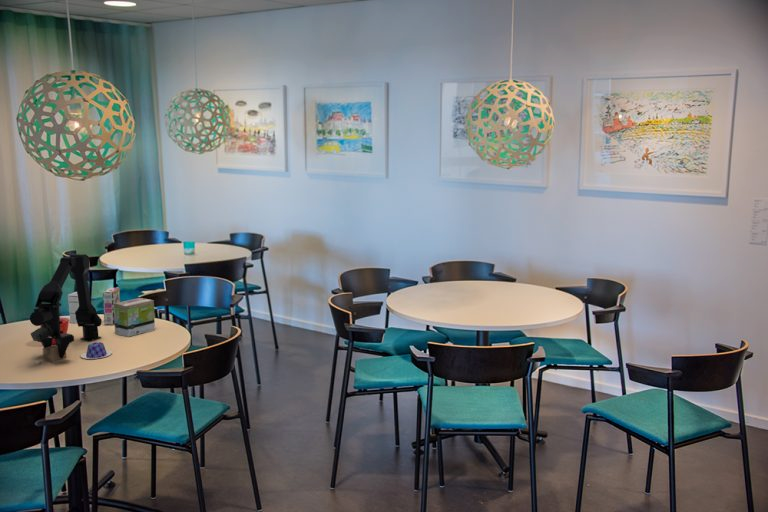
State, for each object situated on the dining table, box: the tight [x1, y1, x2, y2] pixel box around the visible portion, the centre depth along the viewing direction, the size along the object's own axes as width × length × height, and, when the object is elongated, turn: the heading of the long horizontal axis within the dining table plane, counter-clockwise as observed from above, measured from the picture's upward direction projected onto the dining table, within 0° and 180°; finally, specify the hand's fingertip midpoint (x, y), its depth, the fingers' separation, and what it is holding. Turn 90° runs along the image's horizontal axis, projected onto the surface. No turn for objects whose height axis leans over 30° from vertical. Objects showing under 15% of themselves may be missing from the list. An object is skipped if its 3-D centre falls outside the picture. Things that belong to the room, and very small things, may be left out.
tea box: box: [114, 297, 156, 338], centre depth 317 cm, size 15×10×15 cm
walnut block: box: [42, 344, 67, 363], centre depth 278 cm, size 6×6×5 cm
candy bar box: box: [102, 287, 121, 326], centre depth 333 cm, size 11×5×16 cm, turn 5°
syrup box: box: [67, 291, 79, 324], centre depth 334 cm, size 6×6×14 cm
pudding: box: [80, 341, 113, 360], centre depth 284 cm, size 12×12×5 cm
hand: (54, 356), depth 279 cm, fingers open, 8 cm apart
